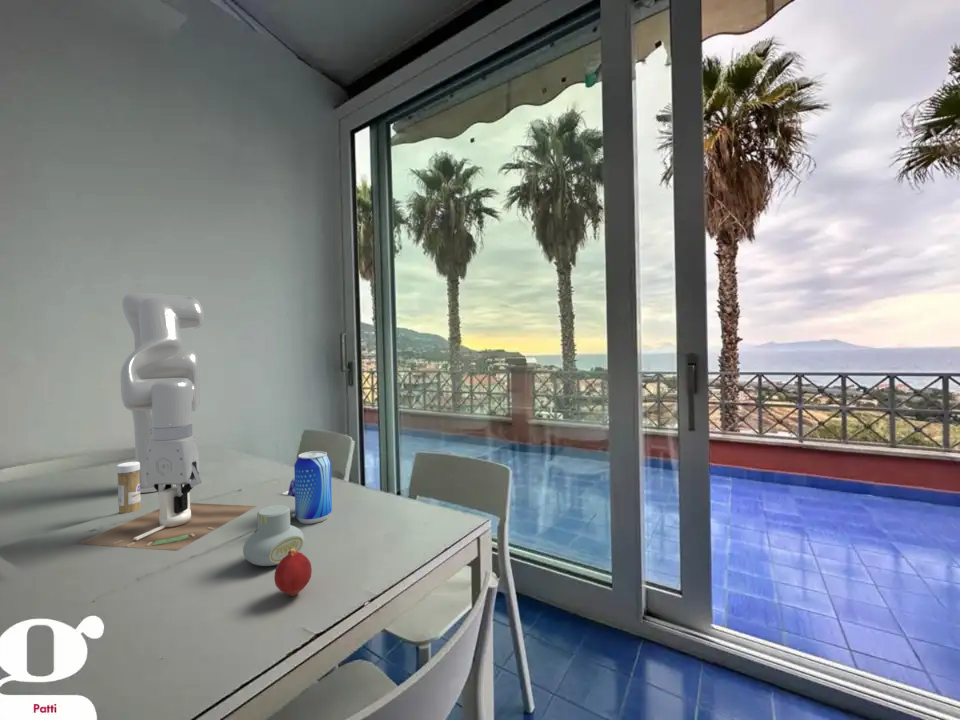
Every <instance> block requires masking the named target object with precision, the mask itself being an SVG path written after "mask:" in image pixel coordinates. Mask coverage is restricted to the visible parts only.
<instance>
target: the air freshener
mask: <svg viewBox="0 0 960 720" xmlns="http://www.w3.org/2000/svg"><path fill="white" fill-rule="evenodd" d="M256 515H257V517H256V519H257V520H256V521H257V524H256V525H257V527H256V529H257V530H256V531H255V532H254V533H252V534H251V535H250V536H249V537H248V538H247V540H246V541H245V543H244V545H243V547H242V549H243V550H242V551H243V552H242V554H243V557H244V558H245V560H247V561H248V562H249V563H251V564H253V565H255V566H258V567H259V566H262V567H270V566H271V567H272V566H278V564H279V563H280V561H281V560H282V559H283V558H284V557H285V556H286V555H288V554H289V553H288V552H289V551H290V550H291V549H295V550H296V551H297V552H299V553H300V551H301V550H302V548H303V546H304V543H305V536H304V534H303V532H302V531H301V529H300V528H298V527H297V526H295V525H291V509H290V507H289V506H288V505H287V504H275V505H269V506H268V505H267V506H266V507H264V508H261V509H260V510H258V512H257V514H256Z"/></svg>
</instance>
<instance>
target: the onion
mask: <svg viewBox="0 0 960 720" xmlns="http://www.w3.org/2000/svg"><path fill="white" fill-rule="evenodd" d="M288 553H289V554H288V555H286V556H285V557H284V558H283V559H282V560H281V561H280V563H279V564H278V565H276V568H275V571H274V584H275V587H277V589H278V590H279V591H281V592H283V593H284V594H287V595H289V596H290V597H295V596H296V595H298V594H299V593H300V592H301V591H302V590H303V589H305V587H307V585H308V583H309V582H310V580H311V578H312V573H313V572H312V571H313V569H312V568H313V567H312V563H311V561H310V559H309V558H308V557H307V556H306V555H305V554H303V553H301V552H300V551H299V552H297V551H296V550H295V549H291V550H290V551H289V552H288Z"/></svg>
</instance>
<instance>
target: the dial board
mask: <svg viewBox="0 0 960 720" xmlns="http://www.w3.org/2000/svg"><path fill="white" fill-rule="evenodd" d="M255 508H257V505H242V504H241V505H238V504H222V503H221V504H219V503H218V504H216V503H196V502H195V503H194V502H190V510H191V520H190V521H189V522H187V523H185V524H182V525H178V526H174V527H165V528H163V529H160V530H158V531H156V532H154V533H152V534H149V535H147V536H145V537H143V538H141V539H138V540H134V538H135V537H137V536H139V535H142V534H144V533H146V532H148V531H151V530H153V529H155V528H157V527H160V521H159V516H160V508H157V509H156V510H155V509H154V510H153V511H151V512H148V513H146V514H144V515H141V516H139V517H136V518H134V519H132V520H129V521H127V522H125V523H122V524H120V525H118V526H115V527H113V528H110V529H107V530H105V531H104V532H101V533H99V534H96V535H93V536H91V537H89V538H86V539H84V540H82V541H80V542H76V545H80V546H81V545H84V546H98V547H99V546H100V547H113V548H114V547H115V548H128V549H129V548H131V549H133V548H134V549H146V550H148V549H149V550H161V551H179V550H181V549H183V548H184V547H187V546H188V545H191V544H192V543H194V542H195V541H197V540H199V539H202V537H205V536H206V535H208V534H210V533H212V532H214V531H215V530H217V529H220V528H221V527H223V526H224V525H226V524H228V523H230V522H232V521H233V520H235V519H237V518H239V517H240V516H243V515H244V514H247V512H249V511H251V510H253V509H255Z"/></svg>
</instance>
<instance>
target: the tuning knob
mask: <svg viewBox="0 0 960 720" xmlns="http://www.w3.org/2000/svg"><path fill="white" fill-rule="evenodd" d="M183 487H184V484H183ZM187 494H188V508H187V510H185V511H183V512H181V513H179V514H175V510H174V497H176V496H177V494H176V486H175V487H172V488H169V489H166V490H164V491H161V492H159V494H158V499H159V500H158V503H159V505H158V506H159V509H160V516H159V521H160V527H157V528H155V529H153V530H151V531H148V532H146V533H144V534H142V535H139V536H137V537H135V538H134V540H138V539H141V538H143V537H145V536H147V535H149V534H152V533H154V532H156V531H158V530H160V529H163V528H165V527H174V526H178V525H182V524H185V523H187V522H189V521H190V520H191V510H190V503H191V496H190V495H191V491H190V492H189V493H187Z"/></svg>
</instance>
